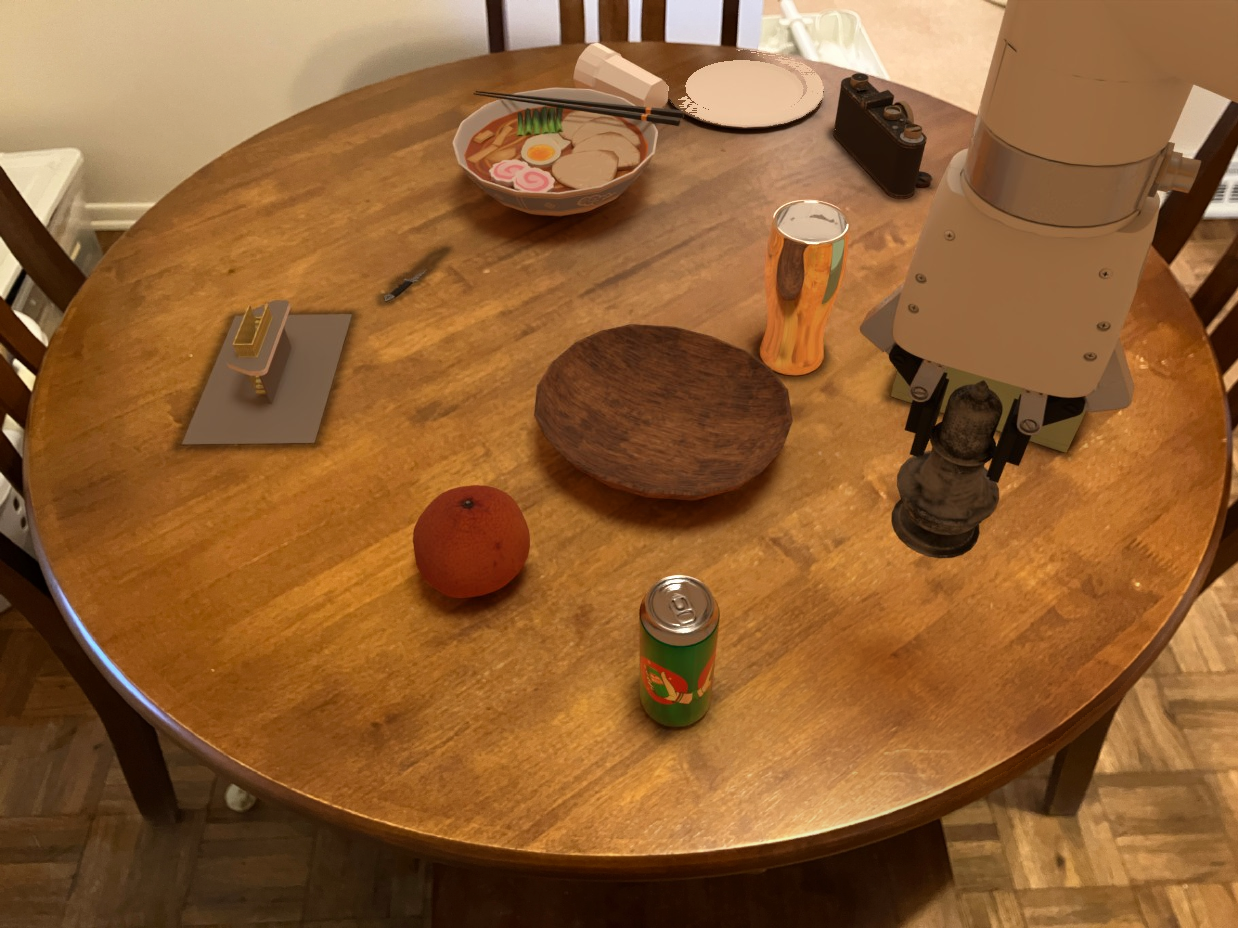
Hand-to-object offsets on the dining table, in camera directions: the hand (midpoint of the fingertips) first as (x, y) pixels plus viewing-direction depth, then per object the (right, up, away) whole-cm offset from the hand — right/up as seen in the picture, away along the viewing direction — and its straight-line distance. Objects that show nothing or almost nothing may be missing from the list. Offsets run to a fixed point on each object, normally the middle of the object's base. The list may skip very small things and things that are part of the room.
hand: (960, 450), depth 55 cm
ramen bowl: (-26, +30, +58) cm, 70 cm away
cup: (-15, +45, +66) cm, 81 cm away
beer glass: (-3, +10, +38) cm, 40 cm away
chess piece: (0, -5, +5) cm, 7 cm away
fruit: (-31, -9, +22) cm, 39 cm away
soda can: (-15, -18, +14) cm, 27 cm away
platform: (-52, +8, +38) cm, 65 cm away
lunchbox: (+15, +6, +35) cm, 38 cm away
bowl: (-16, +1, +31) cm, 35 cm away
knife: (-41, +19, +48) cm, 66 cm away
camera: (+12, +35, +61) cm, 72 cm away
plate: (-3, +48, +73) cm, 87 cm away
